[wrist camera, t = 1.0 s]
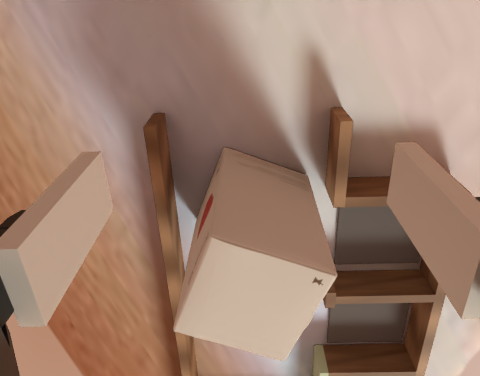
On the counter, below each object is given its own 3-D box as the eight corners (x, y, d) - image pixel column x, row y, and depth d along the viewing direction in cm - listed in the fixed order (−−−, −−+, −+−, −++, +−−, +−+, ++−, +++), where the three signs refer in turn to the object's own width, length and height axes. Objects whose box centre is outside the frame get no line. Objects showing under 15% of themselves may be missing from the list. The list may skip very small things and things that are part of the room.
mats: (340, 193, 39) (340, 194, 39) (431, 190, 39) (433, 192, 39) (327, 340, 48) (327, 342, 48) (400, 339, 48) (401, 341, 48)
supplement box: (222, 143, 37) (209, 232, 24) (309, 174, 38) (343, 274, 25) (193, 220, 41) (168, 333, 27) (273, 245, 42) (286, 365, 29)
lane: (153, 113, 36) (143, 127, 32) (467, 103, 35) (492, 116, 31) (194, 405, 55) (191, 434, 51) (398, 403, 54) (409, 432, 50)
